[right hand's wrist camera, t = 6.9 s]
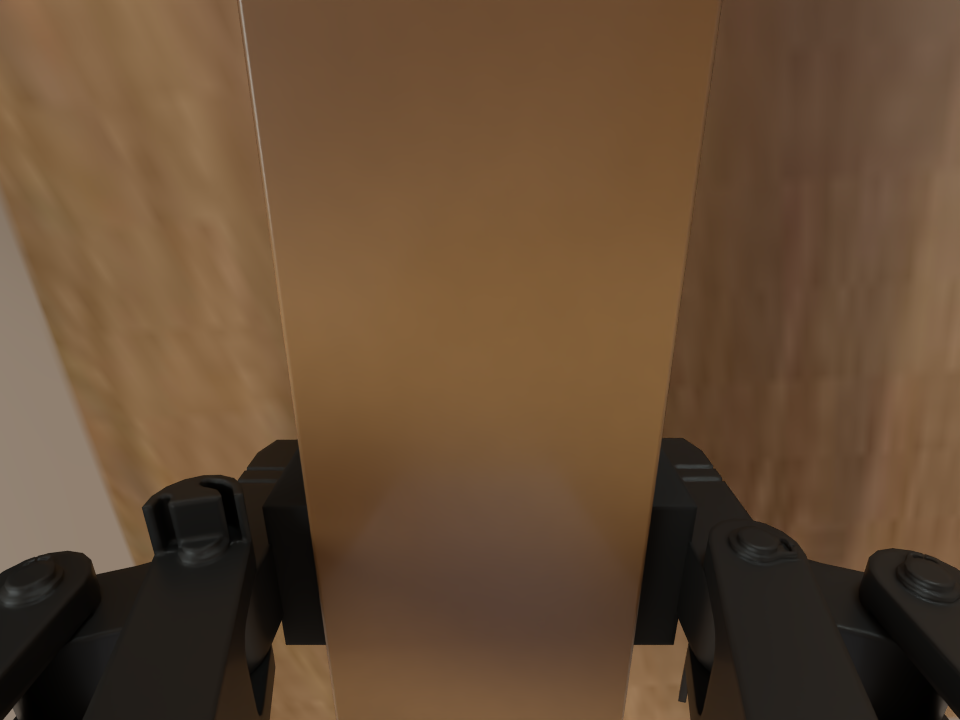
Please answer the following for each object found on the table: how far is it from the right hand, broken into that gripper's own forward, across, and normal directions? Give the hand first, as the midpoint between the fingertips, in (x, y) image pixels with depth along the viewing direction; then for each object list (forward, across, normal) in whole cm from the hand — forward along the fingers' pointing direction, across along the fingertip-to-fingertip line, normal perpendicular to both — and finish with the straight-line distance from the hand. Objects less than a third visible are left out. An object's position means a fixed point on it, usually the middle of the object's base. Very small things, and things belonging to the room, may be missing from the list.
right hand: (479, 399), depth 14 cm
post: (+1, 0, -20) cm, 20 cm away
